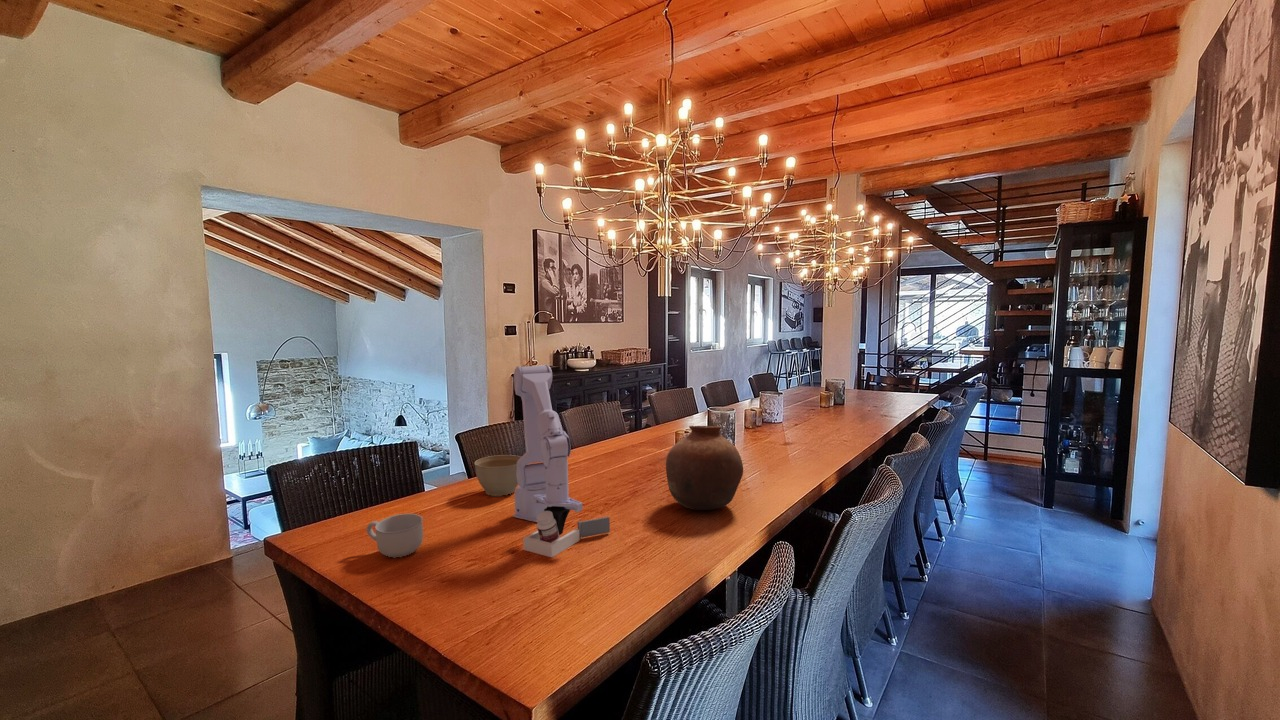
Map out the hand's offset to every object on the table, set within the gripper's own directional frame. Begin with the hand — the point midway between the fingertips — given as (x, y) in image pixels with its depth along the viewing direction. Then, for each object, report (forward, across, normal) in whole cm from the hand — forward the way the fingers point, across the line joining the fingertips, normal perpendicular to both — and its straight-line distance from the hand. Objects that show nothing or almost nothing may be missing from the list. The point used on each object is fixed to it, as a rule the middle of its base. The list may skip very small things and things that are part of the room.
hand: (558, 534), depth 135 cm
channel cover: (+2, +6, +7) cm, 9 cm away
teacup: (+2, -32, -24) cm, 40 cm away
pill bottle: (+2, 0, -3) cm, 3 cm away
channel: (+2, 0, -2) cm, 3 cm away
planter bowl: (+2, -42, +22) cm, 48 cm away
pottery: (+2, +23, +41) cm, 47 cm away
